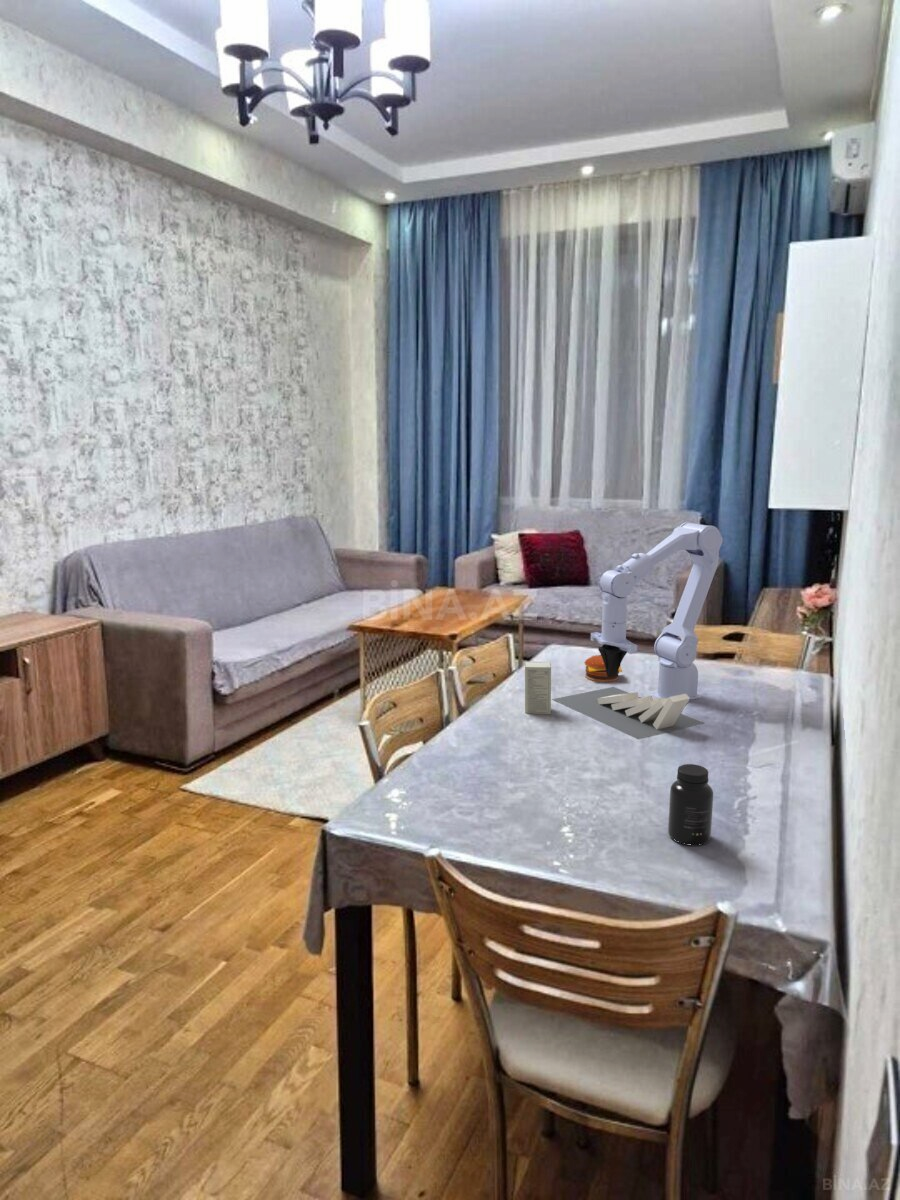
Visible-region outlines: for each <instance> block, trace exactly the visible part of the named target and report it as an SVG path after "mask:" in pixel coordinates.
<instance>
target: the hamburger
mask: <svg viewBox="0 0 900 1200" xmlns="http://www.w3.org/2000/svg"><path fill="white" fill-rule="evenodd" d="M583 663H584V665H585V676H584V677H585V679H587V680H589V681H591V682H597V683H612V682H616V681H618V680H620V676H619V674H620V672H621V673H623V669H622V667H621V664H620V667H619V670H618V673H617V676H614V677H609V676H607V673H606V668H605V664H604V661H603V658H602V656H601V654H597V655H592V656H590V657H588V658H587V659H585V661H584V662H583Z"/></svg>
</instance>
